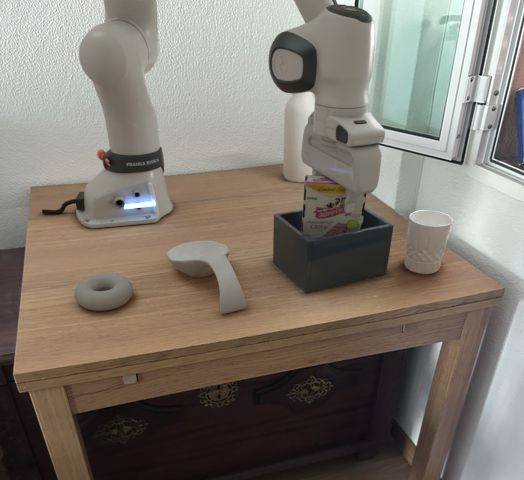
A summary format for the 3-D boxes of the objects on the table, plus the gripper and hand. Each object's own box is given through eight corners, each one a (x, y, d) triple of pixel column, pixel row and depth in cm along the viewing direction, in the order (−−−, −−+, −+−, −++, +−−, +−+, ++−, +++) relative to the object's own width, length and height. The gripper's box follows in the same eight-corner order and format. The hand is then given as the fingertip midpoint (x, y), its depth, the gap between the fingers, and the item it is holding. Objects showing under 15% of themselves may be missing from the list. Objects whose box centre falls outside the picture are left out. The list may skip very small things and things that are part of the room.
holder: (305, 293, 98) (308, 242, 92) (272, 262, 108) (273, 214, 102) (386, 274, 104) (393, 224, 98) (348, 246, 114) (353, 200, 108)
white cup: (393, 261, 108) (400, 213, 102) (425, 254, 110) (434, 207, 105) (417, 279, 102) (426, 229, 96) (451, 271, 105) (462, 222, 99)
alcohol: (278, 174, 151) (280, 53, 134) (306, 171, 154) (312, 51, 136) (291, 184, 145) (295, 58, 127) (320, 180, 147) (328, 56, 130)
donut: (137, 285, 100) (81, 286, 99) (134, 268, 98) (78, 269, 97) (131, 314, 92) (70, 315, 91) (128, 296, 90) (67, 297, 89)
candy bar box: (299, 268, 103) (303, 182, 94) (300, 256, 108) (303, 173, 98) (358, 270, 103) (368, 184, 93) (356, 258, 107) (366, 175, 97)
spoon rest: (160, 263, 107) (156, 229, 103) (216, 251, 111) (214, 218, 107) (203, 321, 90) (200, 283, 86) (266, 305, 94) (267, 268, 90)
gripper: (294, 110, 96) (291, 186, 104) (357, 138, 81) (348, 225, 89) (325, 107, 98) (320, 182, 107) (392, 134, 83) (380, 219, 92)
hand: (333, 202), depth 98 cm, fingers open, 8 cm apart
